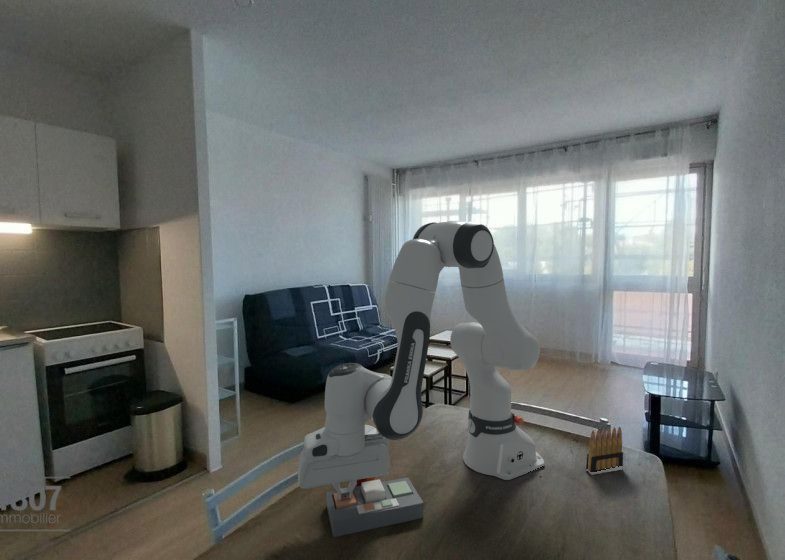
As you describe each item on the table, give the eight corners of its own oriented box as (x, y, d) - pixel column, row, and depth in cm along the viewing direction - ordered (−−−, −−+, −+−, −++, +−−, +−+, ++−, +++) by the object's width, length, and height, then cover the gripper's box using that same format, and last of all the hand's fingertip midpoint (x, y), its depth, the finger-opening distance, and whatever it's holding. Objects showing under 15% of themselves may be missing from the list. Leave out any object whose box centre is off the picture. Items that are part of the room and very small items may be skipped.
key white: (379, 489, 89) (379, 479, 89) (384, 500, 85) (385, 490, 85) (361, 492, 88) (361, 482, 88) (365, 504, 84) (365, 494, 84)
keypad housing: (407, 490, 94) (408, 475, 93) (423, 517, 84) (423, 500, 84) (326, 506, 88) (326, 489, 87) (333, 537, 78) (333, 518, 78)
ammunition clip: (590, 475, 101) (593, 432, 100) (585, 471, 103) (587, 429, 102) (623, 470, 104) (625, 427, 103) (617, 466, 106) (619, 424, 105)
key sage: (405, 490, 92) (405, 480, 91) (411, 501, 87) (412, 491, 87) (388, 493, 90) (388, 483, 90) (393, 505, 86) (393, 495, 86)
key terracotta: (352, 500, 88) (352, 490, 87) (356, 512, 83) (356, 502, 83) (333, 503, 86) (333, 493, 86) (336, 516, 82) (336, 505, 82)
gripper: (385, 425, 90) (385, 481, 91) (297, 437, 84) (297, 497, 85) (394, 438, 84) (393, 498, 85) (299, 451, 78) (299, 516, 79)
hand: (344, 497), depth 85 cm, fingers closed, pressing on key terracotta
